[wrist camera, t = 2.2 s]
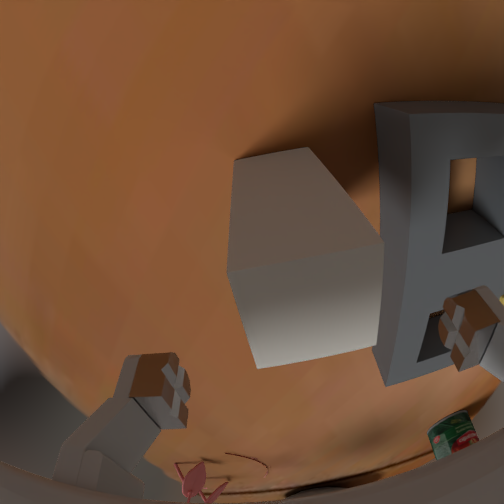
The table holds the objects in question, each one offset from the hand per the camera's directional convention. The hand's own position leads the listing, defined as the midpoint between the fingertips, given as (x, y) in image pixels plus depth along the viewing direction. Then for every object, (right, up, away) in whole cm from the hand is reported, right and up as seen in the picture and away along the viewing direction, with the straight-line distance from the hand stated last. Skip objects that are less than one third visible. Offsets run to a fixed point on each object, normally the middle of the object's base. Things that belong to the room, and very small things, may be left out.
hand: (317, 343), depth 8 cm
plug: (0, +6, +9) cm, 11 cm away
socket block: (+14, +4, +11) cm, 18 cm away
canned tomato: (+31, -26, +30) cm, 50 cm away
